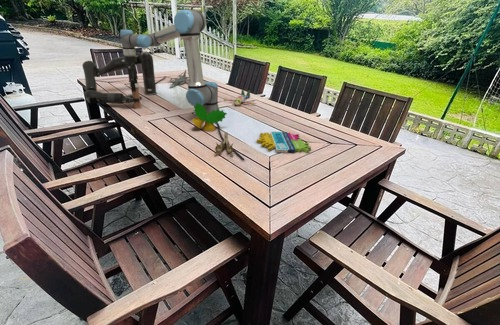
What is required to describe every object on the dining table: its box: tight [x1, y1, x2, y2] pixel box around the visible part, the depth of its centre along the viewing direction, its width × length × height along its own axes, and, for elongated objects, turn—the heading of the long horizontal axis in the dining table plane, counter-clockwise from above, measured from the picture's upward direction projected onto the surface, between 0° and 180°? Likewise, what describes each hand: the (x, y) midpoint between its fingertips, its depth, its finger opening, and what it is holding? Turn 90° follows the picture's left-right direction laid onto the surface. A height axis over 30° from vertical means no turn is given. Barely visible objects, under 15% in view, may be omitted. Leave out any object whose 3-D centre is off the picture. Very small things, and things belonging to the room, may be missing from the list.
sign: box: [256, 131, 312, 154], centre depth 152 cm, size 26×2×30 cm
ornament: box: [191, 102, 228, 132], centre depth 162 cm, size 21×8×15 cm, turn 105°
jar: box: [130, 87, 142, 109], centre depth 188 cm, size 5×5×16 cm
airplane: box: [165, 69, 190, 88], centre depth 260 cm, size 38×31×10 cm
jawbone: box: [214, 131, 234, 156], centre depth 136 cm, size 9×15×10 cm
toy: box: [223, 89, 257, 106], centre depth 219 cm, size 28×7×30 cm
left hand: (140, 99), depth 189 cm, fingers closed on jar, 5 cm apart
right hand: (135, 89), depth 185 cm, fingers open, 8 cm apart
